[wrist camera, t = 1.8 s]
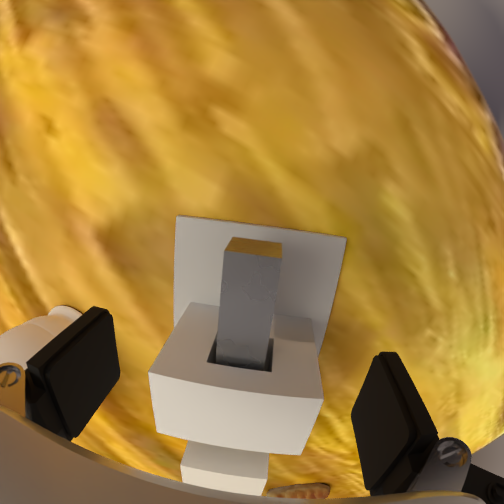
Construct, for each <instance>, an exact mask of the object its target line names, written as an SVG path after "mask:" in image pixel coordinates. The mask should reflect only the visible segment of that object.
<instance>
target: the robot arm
mask: <svg viewBox="0 0 504 504" xmlns="http://www.w3.org/2000/svg"><path fill="white" fill-rule="evenodd" d="M26 364H27V367H28V368H27V369H26V370H24V369H23V367H22V366H20V365H19V364H16V363H11V362H7V363H2V364H0V504H504V478H502V477H500V476H497V475H495V474H493V473H491V472H488V471H486V470H484V469H482V468H479V467H477V466H475V465H473V464H471V457H472V455H471V451H470V449H469V448H468V446H467V445H466V444H465V443H464V442H463V441H461V440H459V439H457V438H453V437H446V438H442V439H440V440H439V437H438V435H437V434H438V432H437V429H436V427H435V425H434V423H433V421H432V419H431V417H430V415H429V413H428V411H427V409H426V407H425V405H424V403H423V401H422V399H421V397H420V395H419V393H418V391H417V389H416V387H415V385H414V383H413V381H412V379H411V377H410V376H409V374H408V372H407V370H406V368H405V366H404V364H403V363H402V361H401V359H400V357H399V355H398V354H397V353H396V352H380V353H379V355H376V356H375V357H374V358H373V361H372V363H371V366H370V369H369V371H368V374H367V376H366V378H365V381H364V383H363V386H362V388H361V390H360V393H359V395H358V397H357V400H356V402H355V404H354V406H353V408H352V412H351V420H352V424H353V429H354V433H355V438H356V443H357V448H358V453H359V458H360V463H361V468H362V474H363V479H364V485H365V488H366V490H370V495H371V496H369V497H355V498H333V499H298V498H278V497H266V496H256V495H248V494H240V493H233V492H227V491H221V490H215V489H210V488H205V487H200V486H195V485H191V484H187V483H183V482H179V481H175V480H171V479H167V478H164V477H160V476H157V475H154V474H150V473H147V472H144V471H141V470H138V469H135V468H132V467H129V466H127V465H124V464H121V463H118V462H116V461H113V460H111V459H108V458H106V457H103V456H101V455H98V454H96V453H94V452H92V451H89V450H87V449H85V448H83V447H81V446H78V445H76V444H74V443H72V442H71V440H72V439H73V437H75V438H76V437H78V436H79V434H80V433H81V432H82V430H83V429H84V427H85V426H86V424H87V423H88V422H89V420H90V419H91V417H92V416H93V415H94V413H95V412H96V410H97V409H98V407H99V406H100V405H101V403H102V402H103V400H104V399H105V398H106V396H107V395H108V394H109V392H110V391H111V389H112V388H113V387H114V385H115V384H116V382H117V381H118V379H119V377H120V367H119V361H118V354H117V347H116V340H115V332H114V323H113V317H112V315H111V314H110V313H109V311H108V310H107V309H103V308H99V307H96V306H93V307H91V308H90V309H89V310H88V311H86V312H85V313H84V314H83V315H81V316H80V317H79V318H78V319H76V320H75V321H74V322H73V323H72V324H70V325H69V326H68V327H67V328H65V329H64V330H63V331H62V332H61V333H59V334H58V335H57V336H56V337H55V338H53V339H52V340H51V341H50V342H49V343H48V344H46V345H45V346H44V347H43V348H42V349H41V350H39V351H38V352H37V353H36V354H35V355H34V356H32V357H31V358H30V359H29V360H28V361H27V362H26Z"/></svg>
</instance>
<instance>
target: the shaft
mask: <svg viewBox="0 0 504 504" xmlns="http://www.w3.org/2000/svg"><path fill="white" fill-rule="evenodd" d="M281 264H282V243H277V242H270V241H262V240H255V239H247V238H240V237H232V239H231V240H230V242H229V243H228V245H227V247H226V248H225V250H224V257H223V268H222V280H221V293H220V306H219V319H218V333H217V348H216V363H215V364H219V365H224V366H231V367H237V368H244V369H250V370H258V371H263V370H264V365H265V359H266V354H267V348H268V342H269V337H270V331H271V325H272V319H273V313H274V307H275V301H276V295H277V289H278V283H279V276H280V270H281Z"/></svg>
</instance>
